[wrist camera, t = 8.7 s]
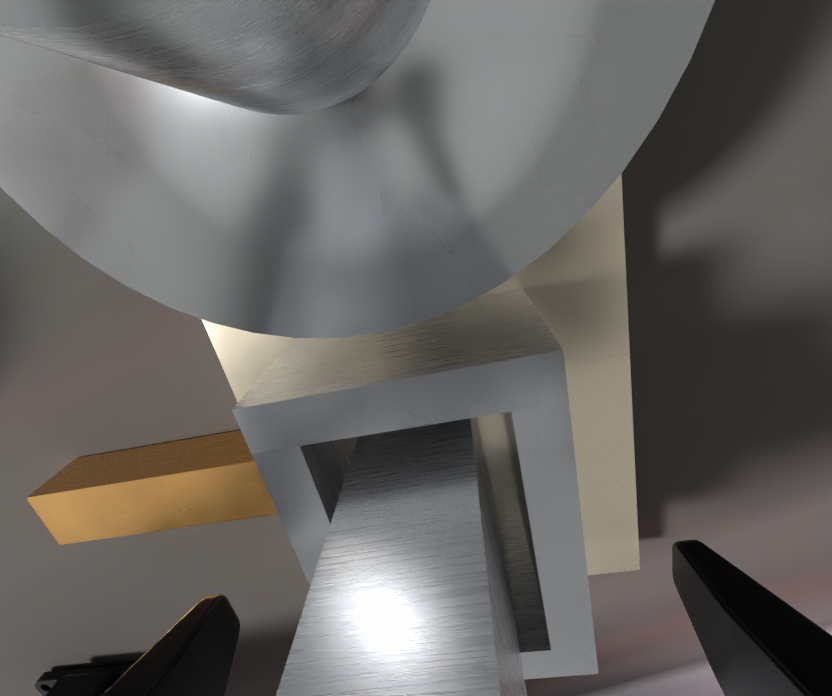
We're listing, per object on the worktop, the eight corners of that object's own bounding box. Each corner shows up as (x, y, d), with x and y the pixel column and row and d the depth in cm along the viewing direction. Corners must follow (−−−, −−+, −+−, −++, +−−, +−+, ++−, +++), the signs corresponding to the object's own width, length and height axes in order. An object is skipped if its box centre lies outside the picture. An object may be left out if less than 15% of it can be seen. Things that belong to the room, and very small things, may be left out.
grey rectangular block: (496, 503, 13) (582, 1043, 5) (419, 515, 14) (383, 1036, 6) (464, 362, 12) (515, 839, 3) (376, 380, 12) (226, 850, 4)
